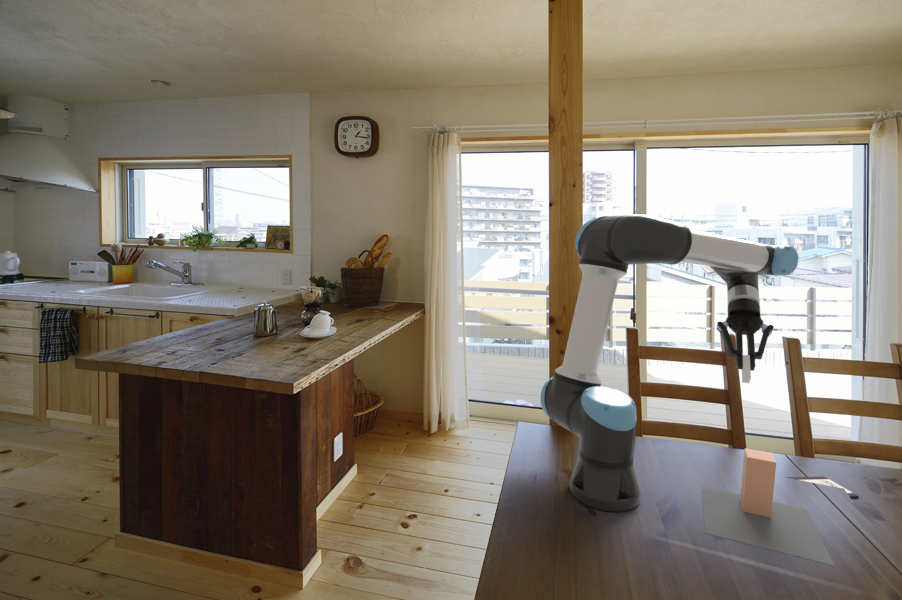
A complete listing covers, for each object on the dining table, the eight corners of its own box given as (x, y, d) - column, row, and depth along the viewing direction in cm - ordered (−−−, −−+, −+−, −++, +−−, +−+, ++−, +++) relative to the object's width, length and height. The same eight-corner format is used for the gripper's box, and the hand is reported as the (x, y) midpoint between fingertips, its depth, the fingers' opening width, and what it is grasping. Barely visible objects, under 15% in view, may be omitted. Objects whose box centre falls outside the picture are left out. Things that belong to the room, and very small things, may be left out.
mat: (704, 535, 90) (705, 532, 90) (701, 488, 107) (701, 486, 107) (834, 568, 81) (834, 565, 81) (806, 511, 98) (806, 509, 98)
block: (742, 511, 97) (747, 457, 96) (740, 499, 102) (744, 448, 100) (770, 517, 95) (776, 462, 94) (766, 505, 100) (772, 453, 98)
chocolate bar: (754, 477, 112) (824, 476, 113) (754, 481, 112) (823, 480, 113) (783, 497, 103) (858, 496, 104) (783, 501, 103) (858, 499, 104)
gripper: (769, 315, 126) (775, 391, 113) (714, 312, 132) (714, 384, 119) (774, 298, 120) (781, 375, 108) (717, 295, 126) (717, 369, 113)
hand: (746, 380), depth 113 cm, fingers closed
